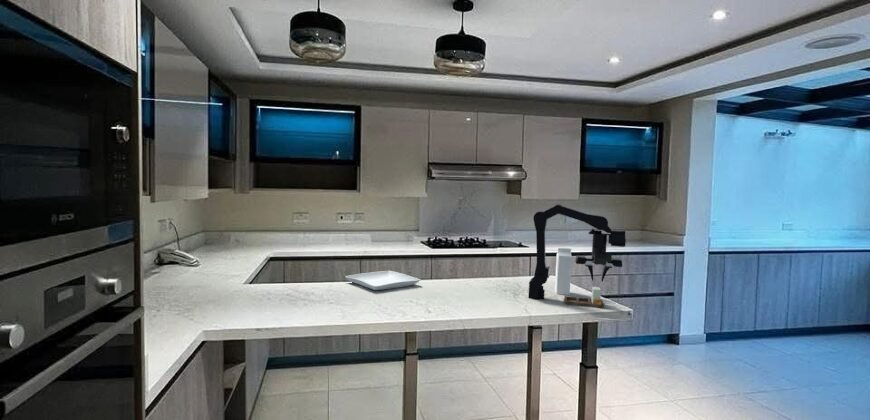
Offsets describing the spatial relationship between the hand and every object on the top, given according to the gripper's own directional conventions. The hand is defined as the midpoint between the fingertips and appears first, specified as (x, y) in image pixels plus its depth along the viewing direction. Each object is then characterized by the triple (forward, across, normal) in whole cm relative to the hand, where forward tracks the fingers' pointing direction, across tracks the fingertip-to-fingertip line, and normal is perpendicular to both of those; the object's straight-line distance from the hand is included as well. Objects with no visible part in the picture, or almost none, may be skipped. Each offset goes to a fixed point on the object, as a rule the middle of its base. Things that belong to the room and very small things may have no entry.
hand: (597, 281), depth 206 cm
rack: (+11, -5, 0) cm, 12 cm away
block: (+10, 0, 0) cm, 10 cm away
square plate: (+12, -99, +6) cm, 100 cm away
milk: (+11, -14, +17) cm, 24 cm away
